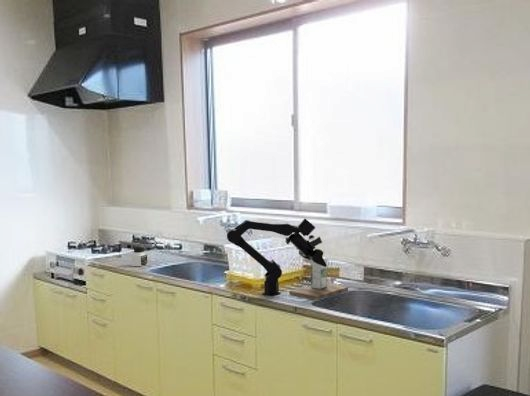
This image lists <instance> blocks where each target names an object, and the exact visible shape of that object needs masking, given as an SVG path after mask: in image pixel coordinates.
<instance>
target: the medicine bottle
mask: <svg viewBox="0 0 530 396" xmlns="http://www.w3.org/2000/svg"><path fill="white" fill-rule="evenodd" d="M130 258H131V261H130V262H131V266H132V265H133V266H143V267H145V266H144V265H146V264H147V265H148V253H145V247H144V246H142V245H138V246H134V247H133V254H131V257H130ZM147 265H146V266H147Z"/></svg>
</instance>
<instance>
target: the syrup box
mask: <svg viewBox="0 0 530 396" xmlns="http://www.w3.org/2000/svg"><path fill="white" fill-rule="evenodd" d="M322 257H323V259H324V261H325V263H326V265H327V266H326V267H324V266H322V265H319V264H317V263H314V262H313V261H312V260H311V261H310V285H311V287H312V288H317V289H322V288H325V287H327V283H328V257H325V256H322Z"/></svg>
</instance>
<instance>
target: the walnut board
mask: <svg viewBox="0 0 530 396" xmlns="http://www.w3.org/2000/svg"><path fill="white" fill-rule="evenodd" d="M347 291H349V287H348V286H345V285H339V284H333V283H328V282H327V287H325V288H322V289H317V288H312V287H311V284H310V285H308V286H303V287H300V288H296V289H293V290H292V289H291V290H289V295H292V296H296V297H300V298H301V297H302V298H305V299H310V300H314V301H316V300H320V299H323V298H327V297H331V296H333V295H338V294H340V293H344V292H347Z"/></svg>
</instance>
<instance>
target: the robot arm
mask: <svg viewBox="0 0 530 396" xmlns="http://www.w3.org/2000/svg"><path fill="white" fill-rule="evenodd" d="M315 229H316V226H315V225H313V223H312V222H310V221H309V220H308V219H307V218H303V220H301V222H300V223H299V224H298V225H291V224H290V223H288V222H274V223H272V222H271V223H270V222H265V221H256V220H250V219H245V220H244V221H243V222H241V223H239V224H238V226H236V227H234V228H230V229H228V231H227V232H226V238H227V241H228V242H230V243H232V244H233V245H235V246H237V247H238V248H241V249H242V250H243V252H246V253H247V254H248V255H249V256H250V257H251V258H253V260H255V261H256V262H257V263H258V264H259V265H261V266H262V267H263V268H264V270H265V271H266V272H265V274H264V275H263V276H264V278H265V280H264V281H263V283H264V286H263V287H264V288H263V289H264V291H263V292H261V293H262V294H263V295H268V296H271V297H272V296H275V295H279V294H282V292H281V291H279V289H280V287H279V278H281V276H282V275H283V271H282V269H281V265H280V264H279V263H277V262H276V261H275V260H274V259H273V258H272V259H271V260H269V259H267V258H266V257H265V256H264V255H263V254H262V253H260V252H259V251H258V250H257V249H256V248H254V247H253V246H252V245H251V244H250V243H248V241H246V240H245V239H244V238H243V236H242V235H243V234H245V233H246V232H247V231H248V230H254V231H263V232H264V231H265V232H271V233H276V234H279V235H282V236H284V237H285V236H286V237H285V241H284V242H285V243H286V244H287V245H289V244H290V243H291V244H292V245H293V246H294V247H295V248H296V250H298V255H299V256H300V257H302V258H304V259H306V260H308V261H310V262H311V260H312V261H313V262H314V263H317V264H319V265H322V266H324V267H326V266H327V267H328V264H327V265H326V263H325V261H324V259H323V257H324V256H323V255H324V251H323V250H322V249H320V248H316V247H317V246H318V245H320V244H322V243H323V240H322V239H321V236H319V235H313V234H311V233H312V232H314V230H315ZM305 236H307V237H308V239H305Z"/></svg>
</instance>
